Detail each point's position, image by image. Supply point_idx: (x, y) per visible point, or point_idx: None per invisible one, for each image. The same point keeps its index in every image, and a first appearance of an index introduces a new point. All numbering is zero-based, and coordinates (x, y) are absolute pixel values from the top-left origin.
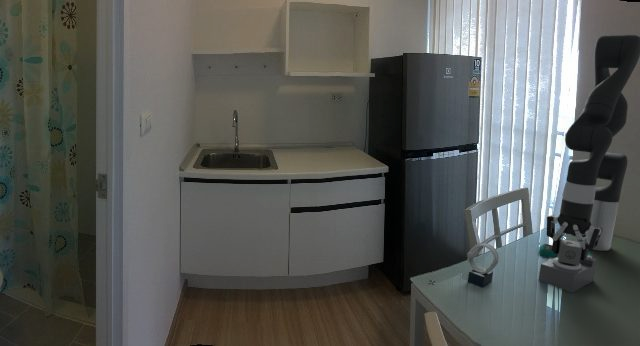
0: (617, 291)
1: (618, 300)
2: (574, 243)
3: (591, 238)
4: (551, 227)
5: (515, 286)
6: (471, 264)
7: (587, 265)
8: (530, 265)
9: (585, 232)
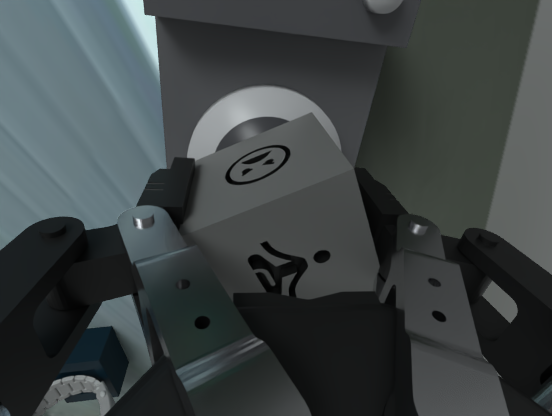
0: (470, 18)
1: (461, 127)
2: (318, 248)
3: (499, 371)
4: (45, 382)
5: None
6: (43, 408)
7: (360, 43)
8: (32, 41)
9: (464, 319)
